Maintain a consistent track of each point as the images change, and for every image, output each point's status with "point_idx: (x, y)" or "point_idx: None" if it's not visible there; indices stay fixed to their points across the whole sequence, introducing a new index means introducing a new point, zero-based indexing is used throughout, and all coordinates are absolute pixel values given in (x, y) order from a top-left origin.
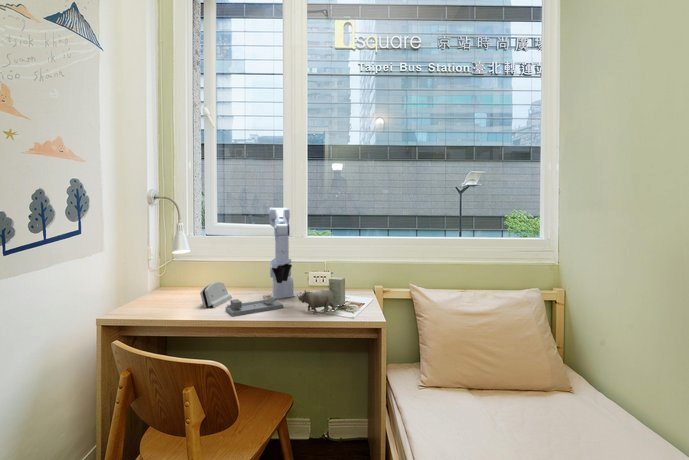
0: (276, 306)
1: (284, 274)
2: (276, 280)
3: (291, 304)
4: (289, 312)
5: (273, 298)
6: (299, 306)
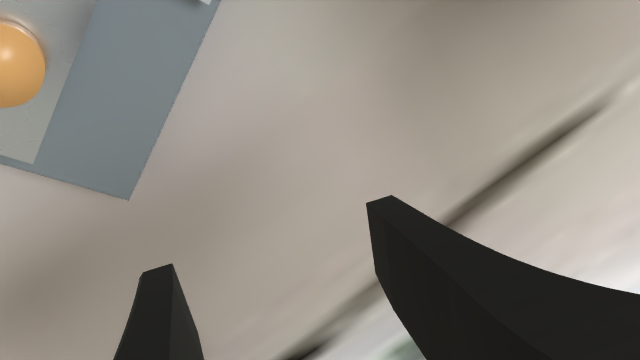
0: (35, 168)
1: (437, 323)
2: (134, 300)
3: (292, 154)
4: (49, 322)
5: (31, 153)
6: (274, 256)
